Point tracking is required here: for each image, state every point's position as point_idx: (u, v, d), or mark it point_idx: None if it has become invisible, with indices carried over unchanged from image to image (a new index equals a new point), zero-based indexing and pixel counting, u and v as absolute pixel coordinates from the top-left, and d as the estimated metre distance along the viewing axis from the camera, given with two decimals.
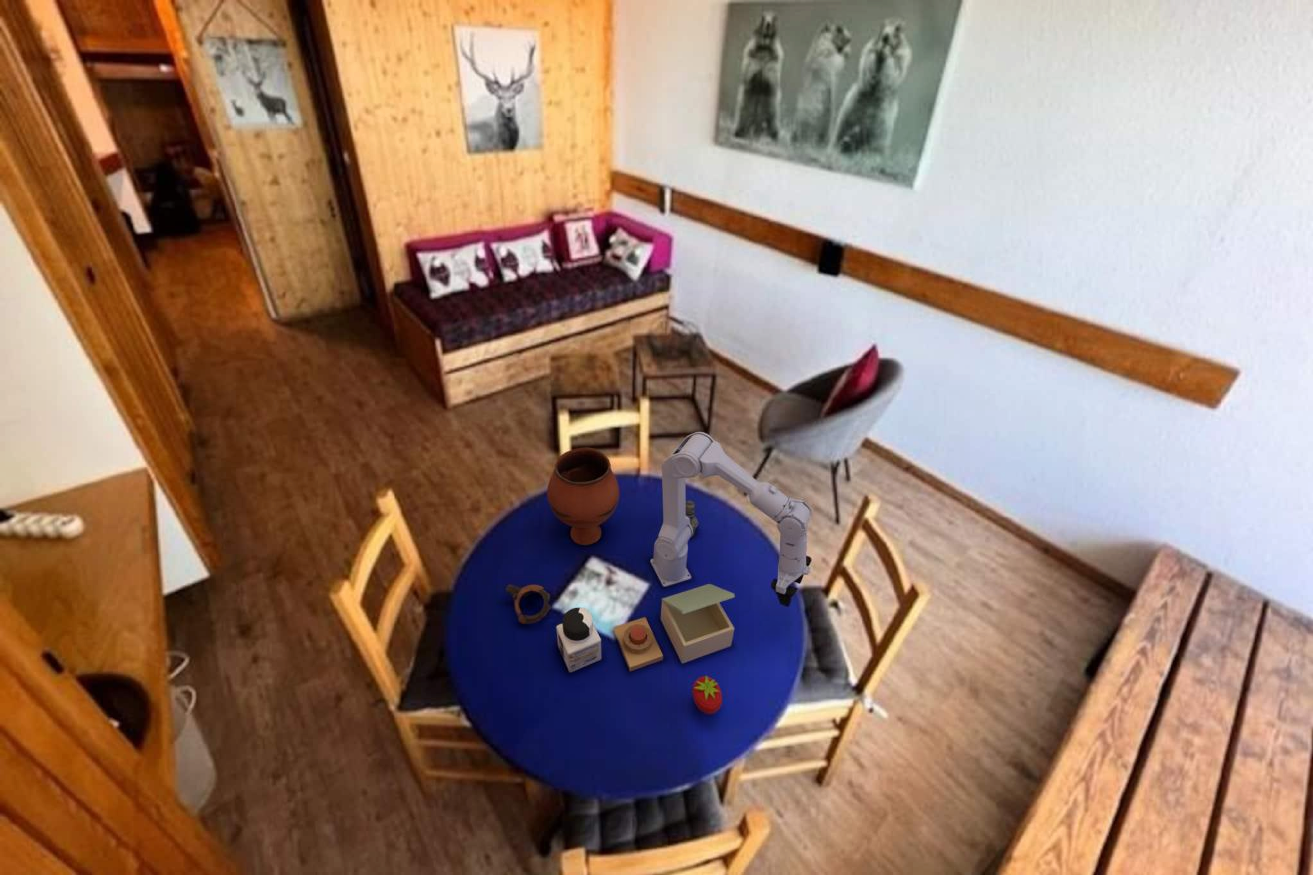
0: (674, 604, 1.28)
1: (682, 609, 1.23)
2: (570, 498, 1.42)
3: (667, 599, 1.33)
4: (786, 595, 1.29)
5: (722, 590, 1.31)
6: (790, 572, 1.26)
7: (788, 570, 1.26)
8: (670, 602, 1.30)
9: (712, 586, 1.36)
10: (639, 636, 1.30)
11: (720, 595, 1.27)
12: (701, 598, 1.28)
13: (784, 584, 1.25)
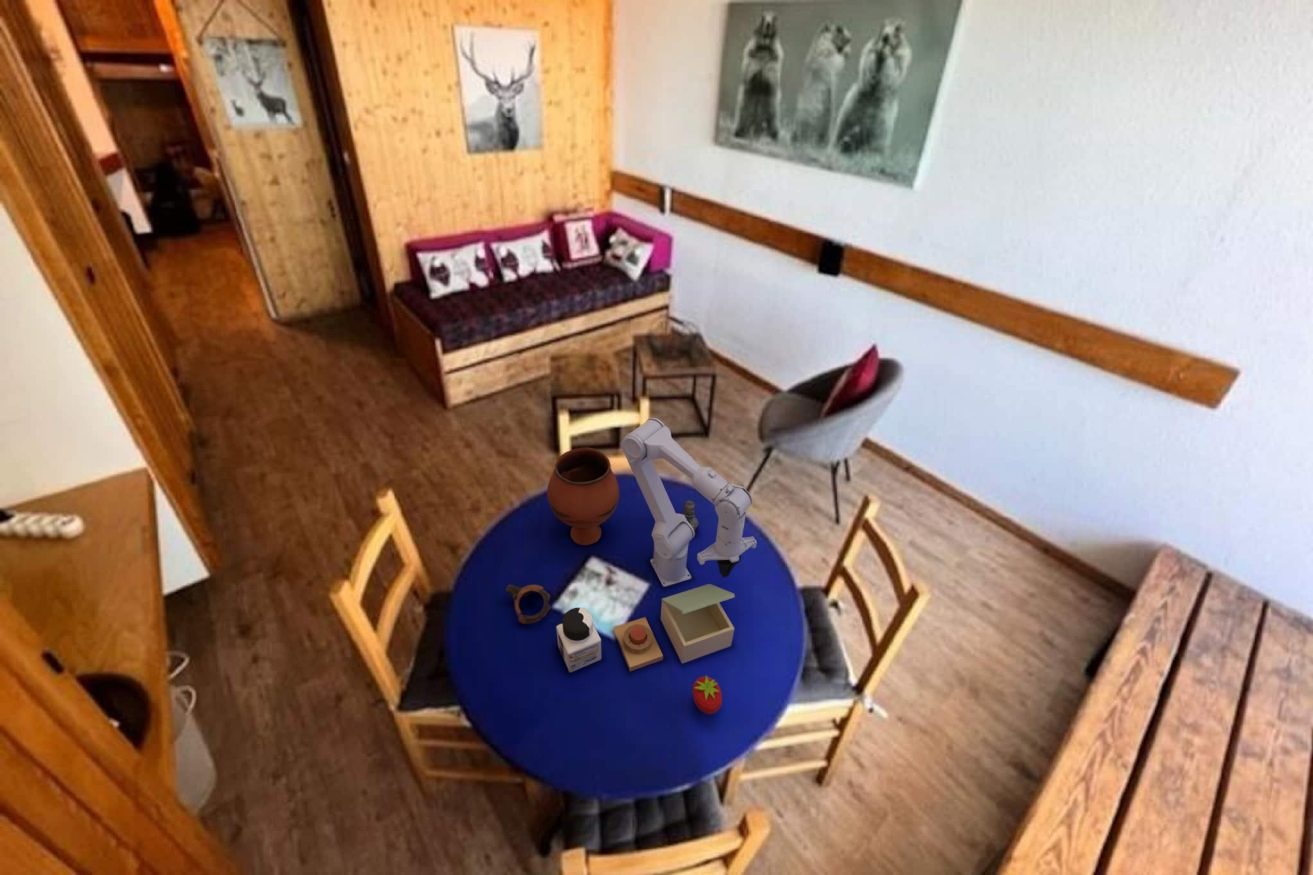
0: (674, 604, 1.28)
1: (682, 609, 1.23)
2: (570, 498, 1.42)
3: (667, 599, 1.33)
4: None
5: (722, 590, 1.31)
6: (718, 551, 1.31)
7: (717, 548, 1.31)
8: (670, 602, 1.30)
9: (712, 586, 1.36)
10: (639, 636, 1.30)
11: (720, 595, 1.27)
12: (701, 598, 1.28)
13: (705, 557, 1.30)
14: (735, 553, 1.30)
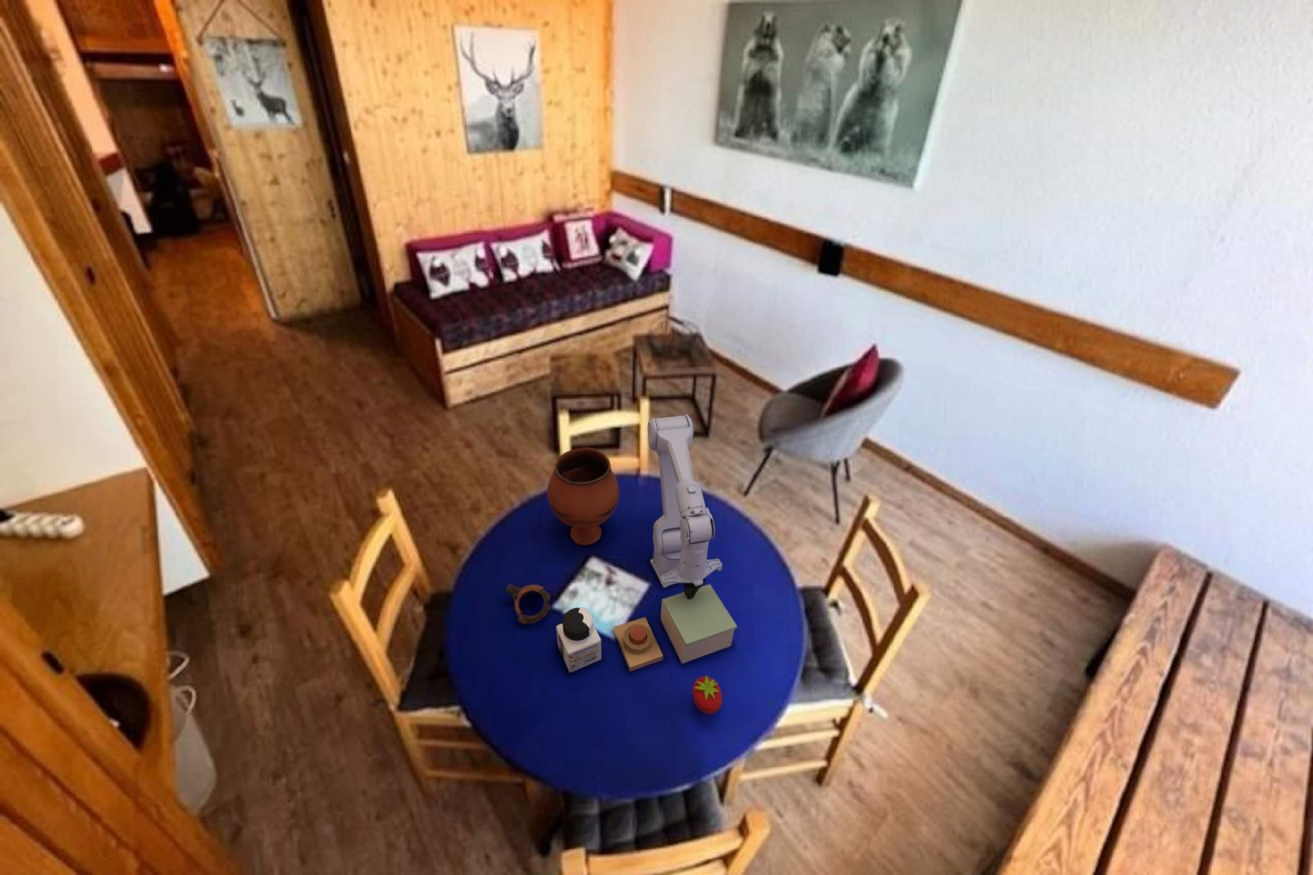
0: (676, 622, 1.29)
1: (686, 640, 1.25)
2: (570, 498, 1.42)
3: (668, 604, 1.33)
4: None
5: (724, 610, 1.32)
6: (682, 574, 1.28)
7: (681, 571, 1.28)
8: (672, 614, 1.31)
9: (713, 593, 1.36)
10: (639, 636, 1.30)
11: (723, 624, 1.29)
12: (704, 621, 1.29)
13: (668, 579, 1.28)
14: (699, 576, 1.28)
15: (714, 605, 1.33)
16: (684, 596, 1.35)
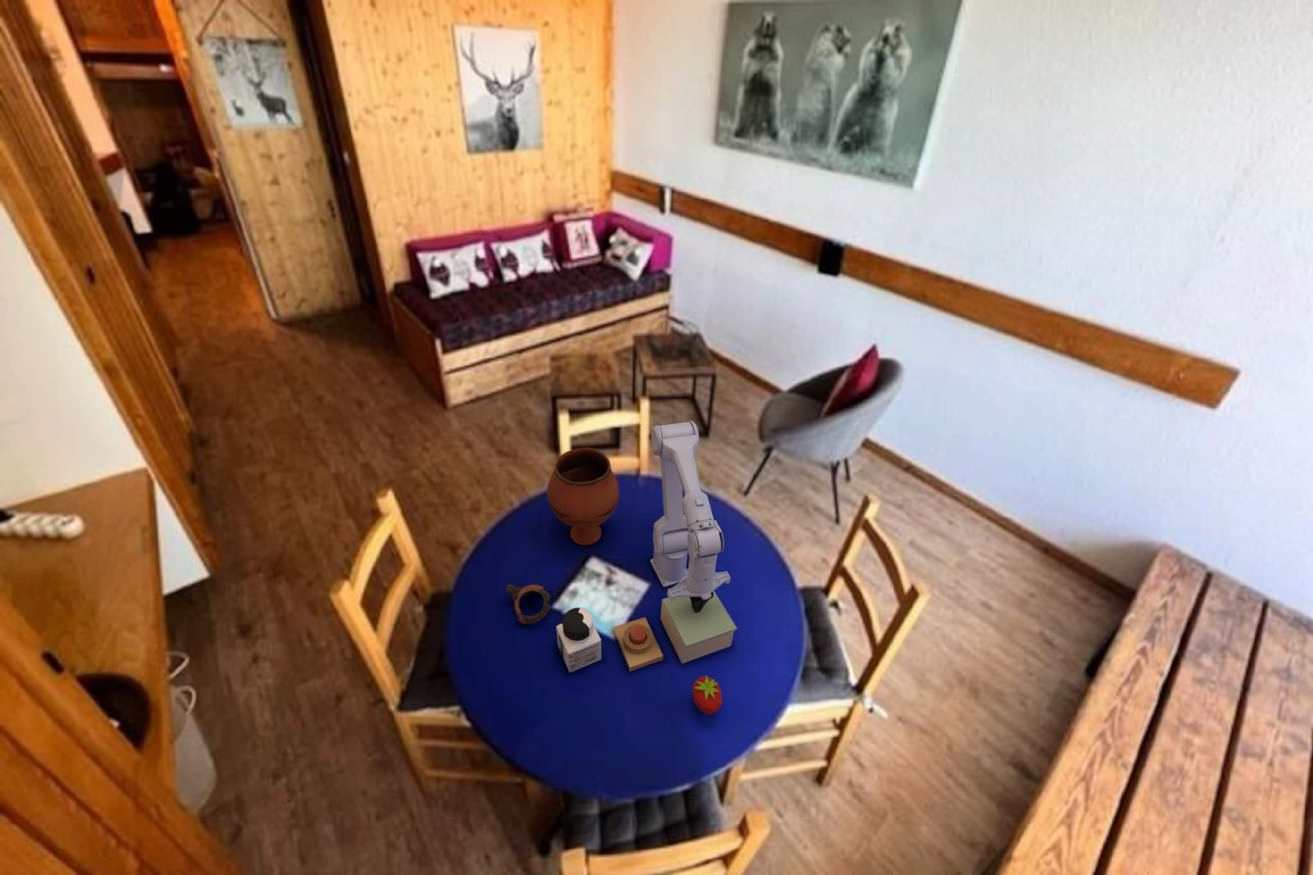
0: (676, 623, 1.29)
1: (686, 642, 1.25)
2: (570, 498, 1.42)
3: (668, 605, 1.33)
4: None
5: (724, 612, 1.32)
6: (689, 587, 1.25)
7: (688, 584, 1.25)
8: (672, 615, 1.31)
9: None
10: (639, 636, 1.30)
11: (723, 626, 1.29)
12: (703, 622, 1.30)
13: (676, 593, 1.25)
14: (707, 590, 1.25)
15: (714, 606, 1.33)
16: None
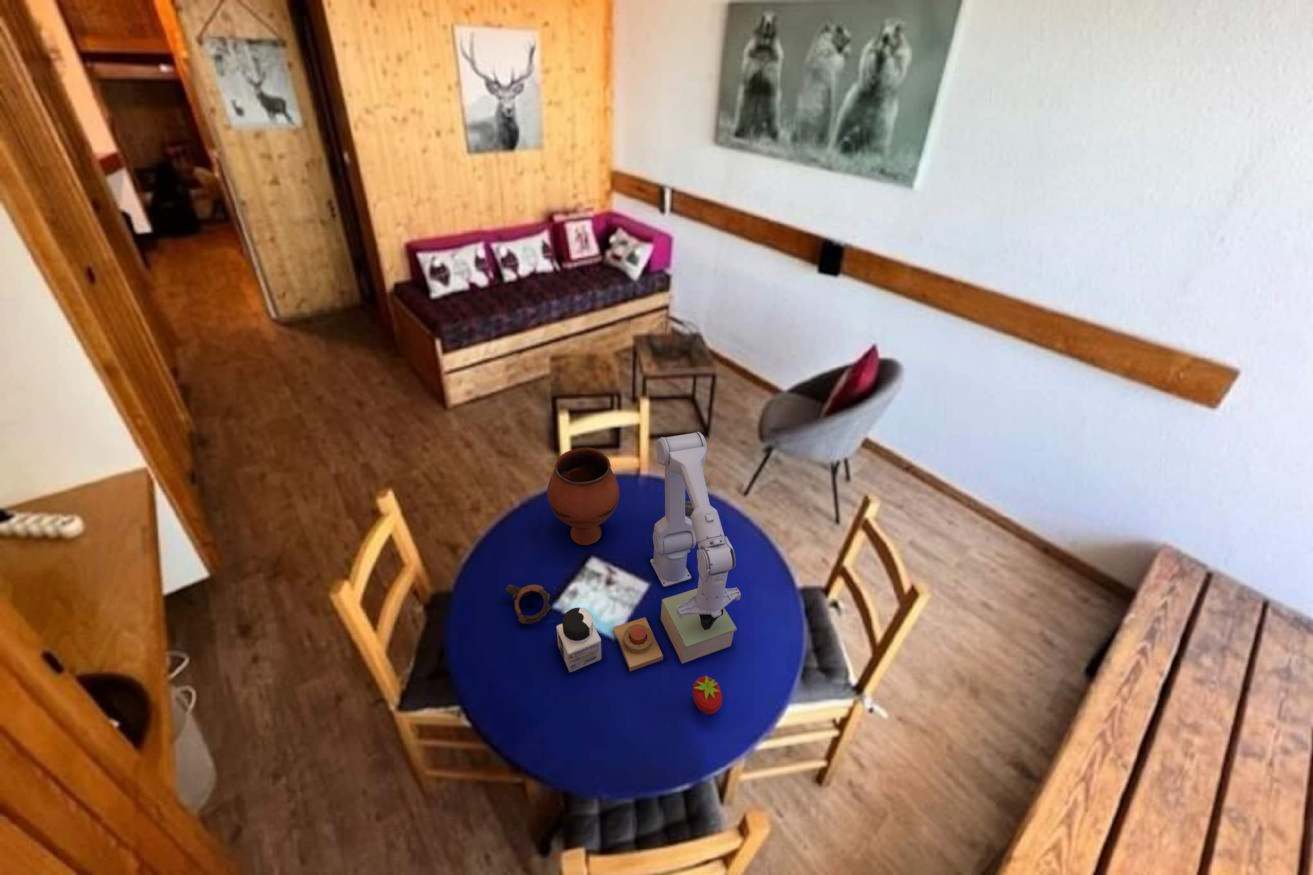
0: (676, 624, 1.29)
1: (686, 643, 1.25)
2: (570, 498, 1.42)
3: (668, 605, 1.33)
4: None
5: (724, 612, 1.32)
6: (699, 604, 1.22)
7: (698, 602, 1.22)
8: (672, 615, 1.31)
9: None
10: (639, 636, 1.30)
11: (723, 626, 1.29)
12: None
13: (685, 611, 1.22)
14: (717, 607, 1.21)
15: None
16: (684, 596, 1.35)
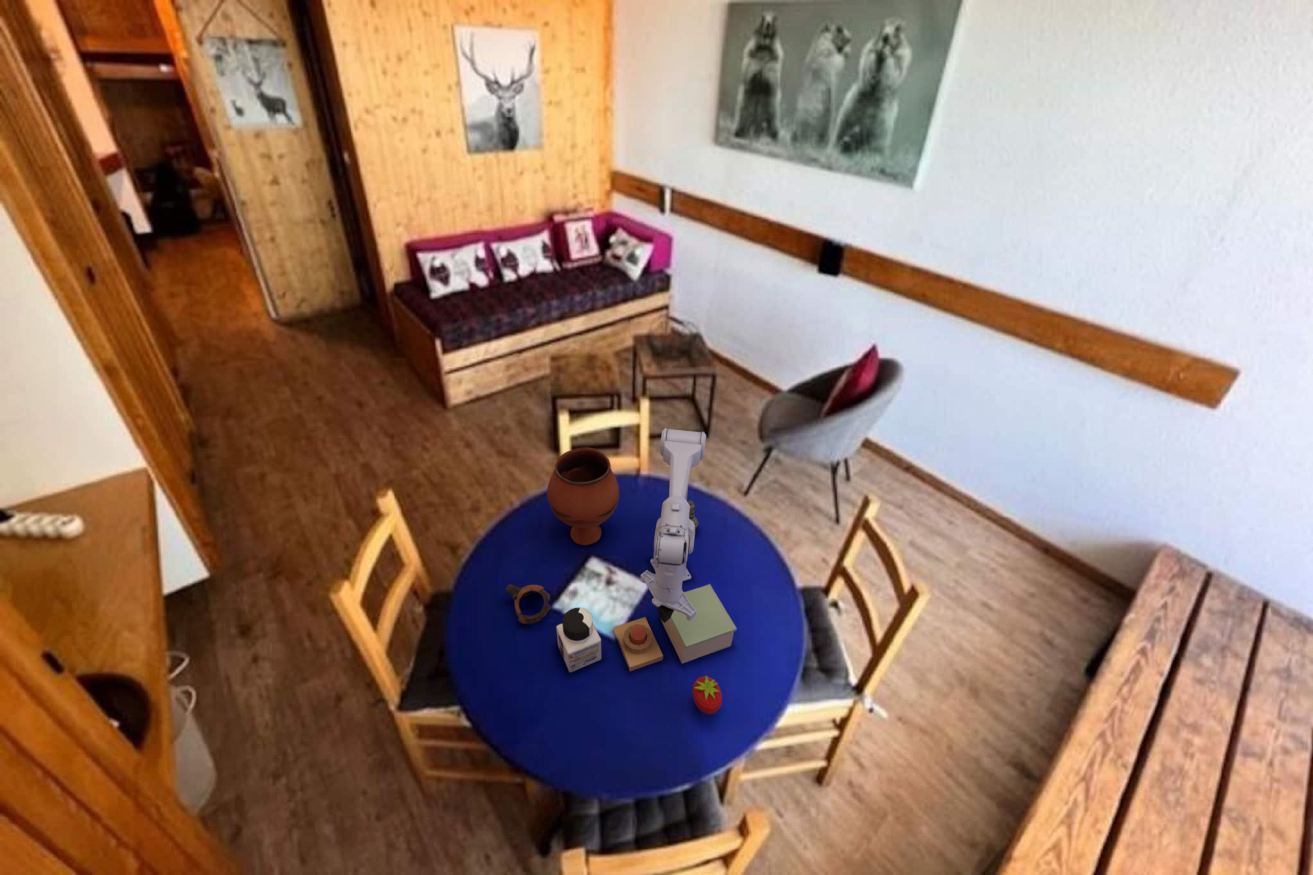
0: (676, 624, 1.29)
1: (686, 643, 1.25)
2: (570, 498, 1.42)
3: None
4: None
5: (724, 612, 1.32)
6: None
7: None
8: (672, 615, 1.31)
9: (713, 594, 1.36)
10: (639, 636, 1.30)
11: (723, 626, 1.29)
12: (703, 623, 1.30)
13: (646, 578, 1.25)
14: (660, 598, 1.19)
15: (714, 606, 1.33)
16: None
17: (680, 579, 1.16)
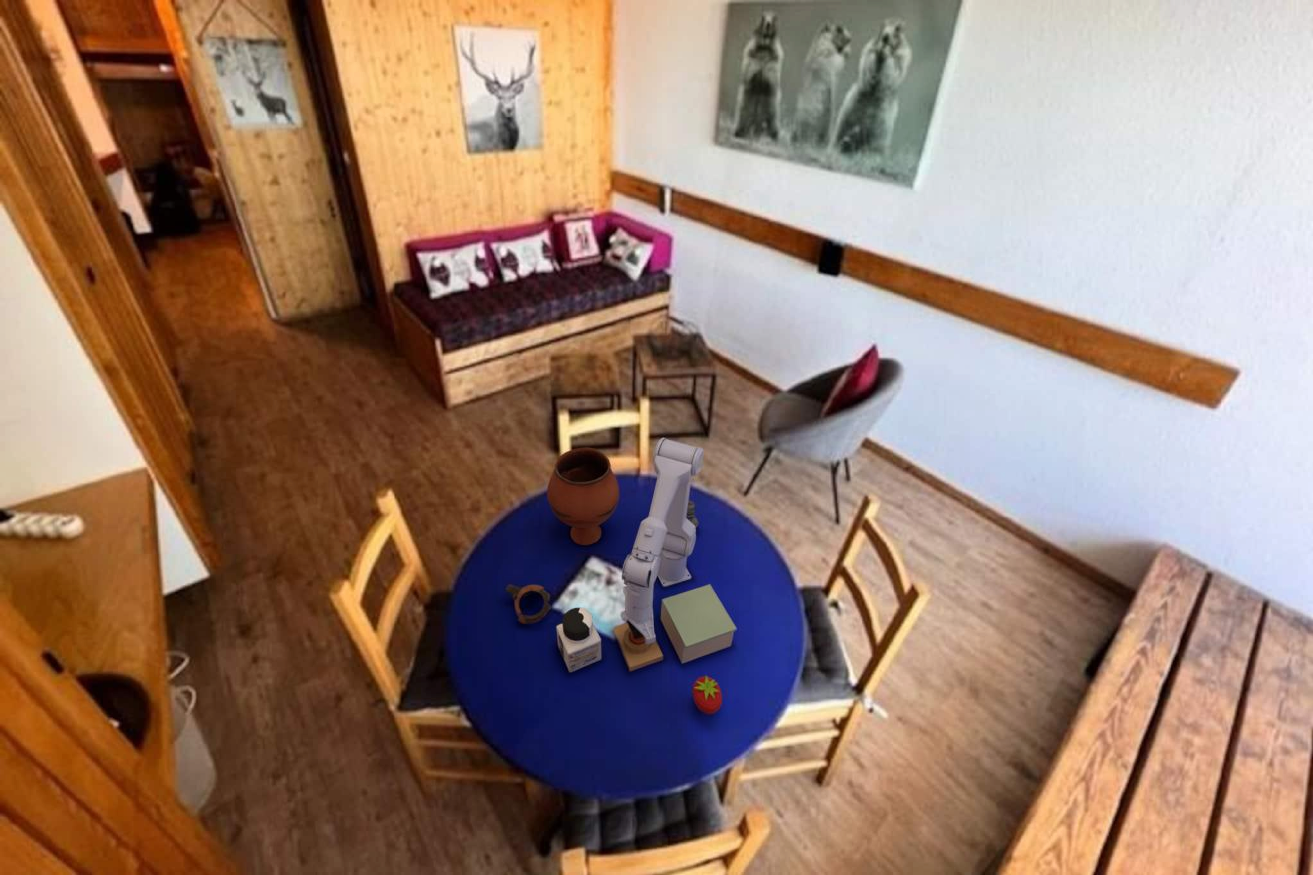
0: (676, 624, 1.29)
1: (686, 643, 1.25)
2: (570, 498, 1.42)
3: (668, 605, 1.33)
4: None
5: (724, 612, 1.32)
6: None
7: None
8: (672, 615, 1.31)
9: (713, 594, 1.36)
10: (639, 638, 1.30)
11: (723, 626, 1.29)
12: (703, 623, 1.30)
13: None
14: (627, 613, 1.24)
15: (714, 606, 1.33)
16: (684, 596, 1.35)
17: (647, 601, 1.20)
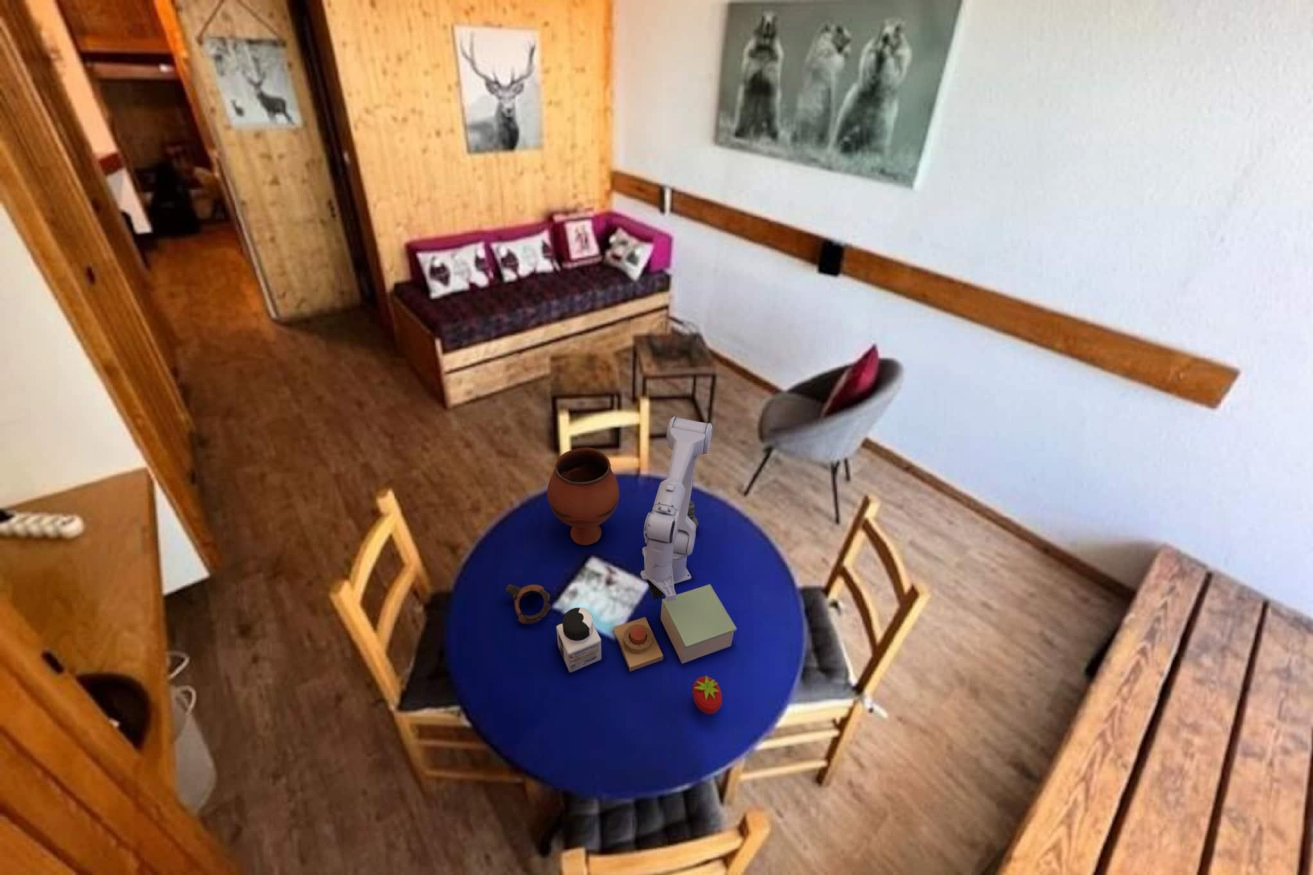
0: (676, 624, 1.29)
1: (686, 643, 1.25)
2: (570, 498, 1.42)
3: (668, 605, 1.33)
4: None
5: (724, 612, 1.32)
6: None
7: None
8: (672, 615, 1.31)
9: (713, 594, 1.36)
10: (639, 636, 1.30)
11: (723, 626, 1.29)
12: (703, 623, 1.30)
13: (646, 552, 1.31)
14: (647, 572, 1.25)
15: (714, 606, 1.33)
16: (684, 596, 1.35)
17: (669, 558, 1.21)
